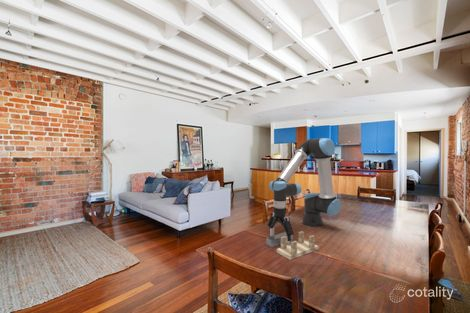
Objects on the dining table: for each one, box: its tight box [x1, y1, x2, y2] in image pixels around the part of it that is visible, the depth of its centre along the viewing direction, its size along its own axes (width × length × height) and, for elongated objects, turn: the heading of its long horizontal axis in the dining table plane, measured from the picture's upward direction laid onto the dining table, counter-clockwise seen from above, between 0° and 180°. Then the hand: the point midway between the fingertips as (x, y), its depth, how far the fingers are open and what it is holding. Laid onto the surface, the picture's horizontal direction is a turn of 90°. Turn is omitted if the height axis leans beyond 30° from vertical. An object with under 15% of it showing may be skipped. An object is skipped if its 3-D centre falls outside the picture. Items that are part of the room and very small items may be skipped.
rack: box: [276, 230, 319, 261], centre depth 124 cm, size 22×10×8 cm, turn 122°
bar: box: [265, 231, 294, 248], centre depth 136 cm, size 18×4×4 cm, turn 123°
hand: (279, 242), depth 136 cm, fingers open, 13 cm apart
